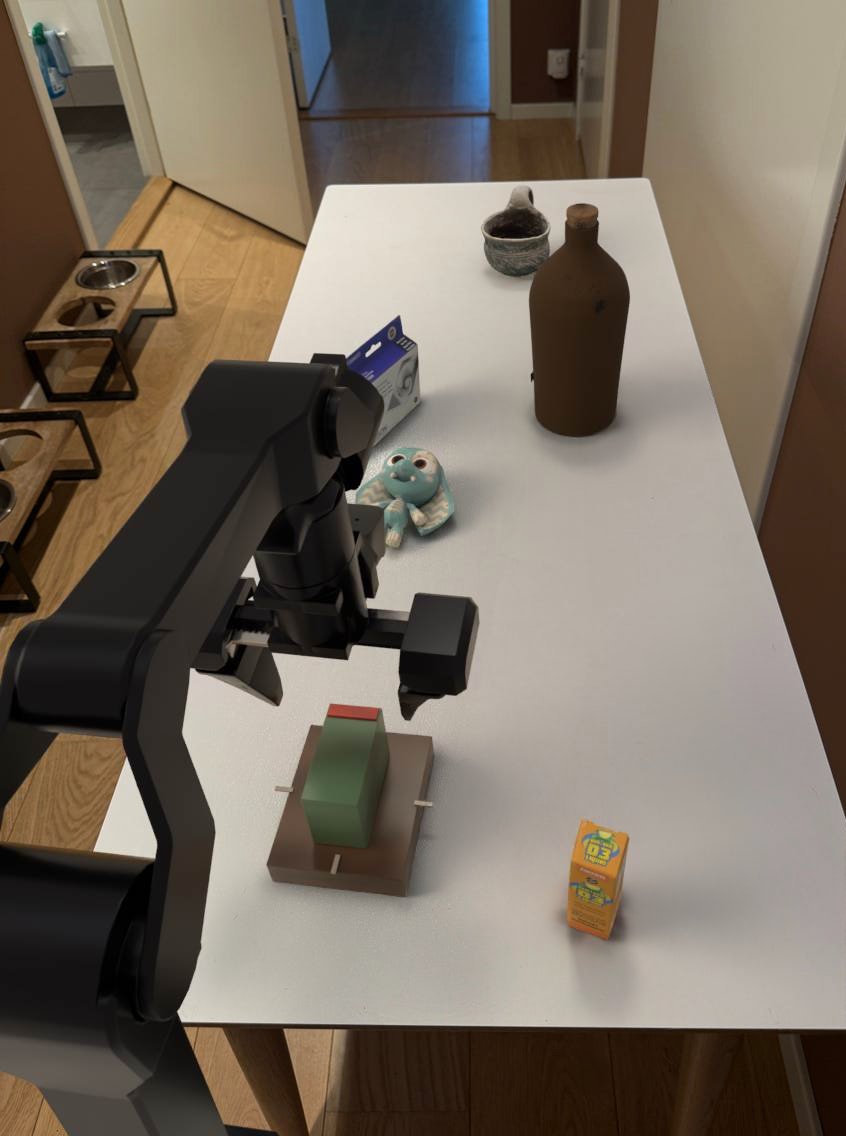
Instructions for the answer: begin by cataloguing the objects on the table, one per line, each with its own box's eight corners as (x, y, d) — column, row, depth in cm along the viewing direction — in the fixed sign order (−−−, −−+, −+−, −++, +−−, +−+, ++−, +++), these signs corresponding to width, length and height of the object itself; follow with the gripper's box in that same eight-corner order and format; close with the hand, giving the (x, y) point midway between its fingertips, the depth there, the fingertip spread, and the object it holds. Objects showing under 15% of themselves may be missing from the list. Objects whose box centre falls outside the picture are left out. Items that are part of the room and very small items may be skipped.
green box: (367, 849, 69) (356, 803, 65) (313, 843, 69) (299, 797, 65) (390, 753, 75) (381, 705, 71) (340, 748, 75) (329, 701, 71)
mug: (481, 287, 134) (478, 219, 127) (484, 244, 143) (482, 180, 136) (550, 286, 133) (551, 218, 126) (549, 243, 142) (550, 178, 136)
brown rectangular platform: (420, 900, 69) (417, 882, 67) (257, 881, 70) (250, 863, 68) (447, 754, 78) (445, 735, 76) (302, 739, 79) (297, 720, 77)
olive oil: (638, 407, 111) (657, 203, 95) (586, 453, 105) (596, 244, 89) (564, 376, 117) (570, 178, 100) (510, 418, 111) (506, 215, 94)
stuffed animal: (324, 508, 92) (368, 418, 99) (340, 550, 98) (380, 462, 105) (429, 529, 89) (467, 434, 96) (438, 571, 95) (474, 479, 102)
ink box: (368, 455, 107) (355, 369, 99) (351, 449, 108) (337, 363, 100) (424, 401, 114) (416, 317, 106) (408, 396, 115) (399, 312, 107)
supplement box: (562, 929, 67) (565, 858, 60) (577, 884, 69) (582, 811, 62) (608, 946, 66) (617, 876, 59) (622, 900, 68) (632, 828, 61)
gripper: (487, 468, 59) (495, 627, 70) (200, 448, 61) (250, 604, 72) (457, 607, 51) (471, 762, 62) (129, 577, 54) (197, 731, 64)
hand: (343, 707), depth 65 cm, fingers open, 9 cm apart
